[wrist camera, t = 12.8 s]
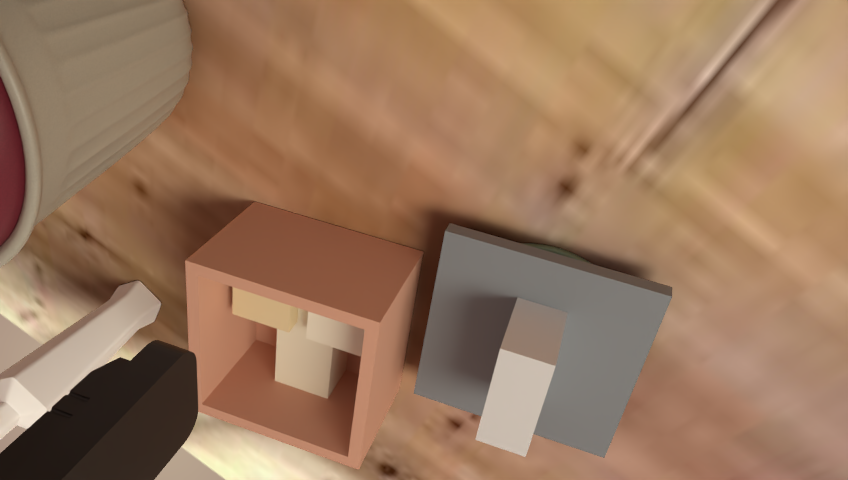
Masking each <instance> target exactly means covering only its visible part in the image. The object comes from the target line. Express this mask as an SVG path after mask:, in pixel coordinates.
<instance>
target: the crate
mask: <svg viewBox="0 0 848 480" xmlns="http://www.w3.org/2000/svg"><path fill="white" fill-rule="evenodd" d="M423 253H424V252H423V251H420V250H416V249H413V248H410V247H406V246H403V245H399V244H396V243H393V242H389V241H386V240H383V239H379V238H376V237H373V236H369V235H366V234H362V233H359V232H356V231H352V230H349V229H346V228H342V227H339V226H336V225H332V224H329V223H325V222H322V221H319V220H315V219H312V218H309V217H305V216H302V215H299V214H295V213H292V212H288V211H285V210H282V209H278V208H275V207H272V206H268V205H265V204H262V203H258V202H254V203H252V204H251V205H250V206H249V207H248V208H246V209H245V210H244V211H243V212H242V213H241V214H239V215H238V216H237V217H236V218H235V219H233V220H232V221H231V222H230V223H229V224H228V225H226V226H225V227H224V228H223V229H222V230H220V231H219V232H218V233H217V234H216V235H215V236H213V237H212V238H211V239H210V240H209V241H207V242H206V243H205V244H204V245H203V246H202V247H200V248H199V249H198V250H197V251H196V252H194V253H193V254H192V255H191V256H190V257H189V258H187V259H186V260H185V269H186V293H187V316H188V340H189V351H191V352H193V353H194V354H195V355H196V360H197V385H198V411H199V412H201V413H204V414H207V415H210V416H212V417H215V418H218V419H221V420H223V421H226V422H229V423H232V424H234V425H237V426H240V427H243V428H245V429H248V430H251V431H254V432H256V433H259V434H262V435H265V436H267V437H270V438H273V439H275V440H278V441H281V442H284V443H286V444H289V445H292V446H295V447H297V448H300V449H303V450H306V451H308V452H311V453H314V454H317V455H319V456H322V457H325V458H328V459H330V460H333V461H336V462H339V463H341V464H344V465H347V466H350V467H352V468H355V469H358V470H359V468H360V466H361V464H362V462H363V460H364V458H365V456H366V454H367V452H368V450H369V448H370V446H371V444H372V442H373V440H374V438H375V436H376V434H377V432H378V430H379V428H380V426H381V424H382V422H383V420H384V418H385V416H386V414H387V412H388V410H389V408H390V406H391V404H392V402H393V400H394V398H395V396H396V394H397V392H398V390H399V389H400V384H401V378H402V372H403V366H404V361H405V355H406V349H407V344H408V338H409V332H410V327H411V321H412V315H413V310H414V304H415V298H416V293H417V287H418V281H419V276H420V270H421V264H422V259H423Z"/></svg>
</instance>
